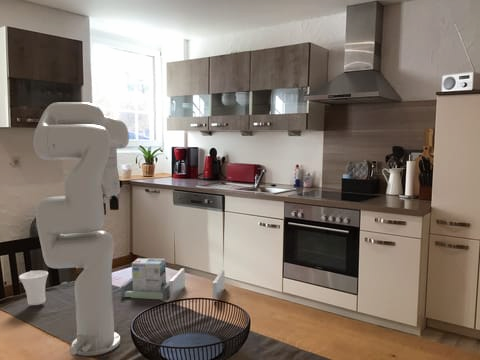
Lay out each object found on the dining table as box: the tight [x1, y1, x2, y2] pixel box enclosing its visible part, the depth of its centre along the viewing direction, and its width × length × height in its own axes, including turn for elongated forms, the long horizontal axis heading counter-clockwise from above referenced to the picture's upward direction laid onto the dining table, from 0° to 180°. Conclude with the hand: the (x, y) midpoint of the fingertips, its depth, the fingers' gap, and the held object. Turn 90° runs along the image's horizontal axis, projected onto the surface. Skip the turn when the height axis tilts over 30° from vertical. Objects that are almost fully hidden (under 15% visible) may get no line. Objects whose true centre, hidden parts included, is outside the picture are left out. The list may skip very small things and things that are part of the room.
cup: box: [18, 270, 49, 306], centre depth 144 cm, size 9×9×10 cm
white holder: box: [168, 268, 226, 302], centre depth 153 cm, size 14×16×7 cm
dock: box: [120, 277, 170, 300], centre depth 156 cm, size 12×16×4 cm
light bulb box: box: [131, 257, 167, 293], centre depth 155 cm, size 11×7×11 cm, turn 83°
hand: (108, 212), depth 149 cm, fingers open, 9 cm apart
